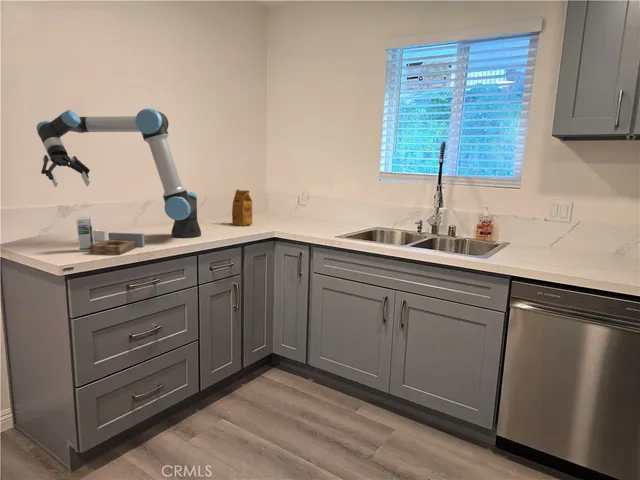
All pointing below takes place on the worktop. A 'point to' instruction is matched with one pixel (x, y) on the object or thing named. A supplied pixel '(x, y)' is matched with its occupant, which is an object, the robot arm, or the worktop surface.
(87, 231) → the syrup box
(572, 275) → the worktop surface
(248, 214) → the coffee package
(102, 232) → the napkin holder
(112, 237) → the backstop wall
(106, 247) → the tray
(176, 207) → the robot arm
